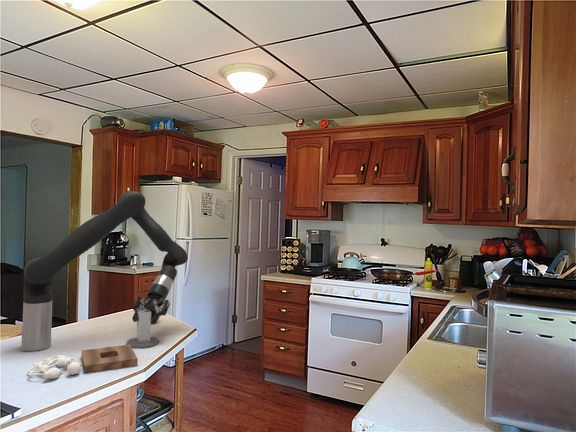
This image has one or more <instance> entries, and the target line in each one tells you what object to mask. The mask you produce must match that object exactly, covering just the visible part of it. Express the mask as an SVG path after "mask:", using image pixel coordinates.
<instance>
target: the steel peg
mask: <svg viewBox="0 0 576 432" xmlns="http://www.w3.org/2000/svg"><path fill="white" fill-rule="evenodd" d="M151 328H152V324H151V311H150V310H149V309H148V310H141V309H140V310H138V313H137V322H136V338H137V342H138V344H141V343H149V342H150V337H151V333H152V331H151V330H152V329H151Z"/></svg>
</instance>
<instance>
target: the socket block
mask: <svg viewBox="0 0 576 432" xmlns="http://www.w3.org/2000/svg"><path fill="white" fill-rule="evenodd" d="M80 358H81V364H82V367H83V373H84V374H92V373H97V372H99V373H100V372H106V371H110V370H111V371H113V370H119V369H125V368H131V367H132V368H133V367H137V366H138V364H139V363H138V360H139V359H138V356H137V355H136V353H135V351H134V348H132V347H131V346H130V344H129V345H127V344H123V345H115V346H106V347H99V348H98V347H97V348H90V349H82V350H81V357H80Z"/></svg>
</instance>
